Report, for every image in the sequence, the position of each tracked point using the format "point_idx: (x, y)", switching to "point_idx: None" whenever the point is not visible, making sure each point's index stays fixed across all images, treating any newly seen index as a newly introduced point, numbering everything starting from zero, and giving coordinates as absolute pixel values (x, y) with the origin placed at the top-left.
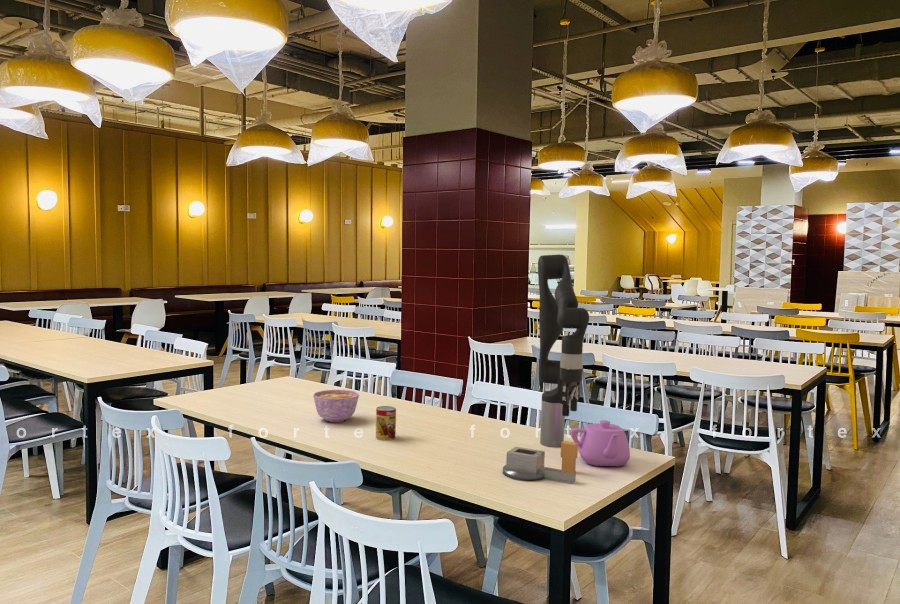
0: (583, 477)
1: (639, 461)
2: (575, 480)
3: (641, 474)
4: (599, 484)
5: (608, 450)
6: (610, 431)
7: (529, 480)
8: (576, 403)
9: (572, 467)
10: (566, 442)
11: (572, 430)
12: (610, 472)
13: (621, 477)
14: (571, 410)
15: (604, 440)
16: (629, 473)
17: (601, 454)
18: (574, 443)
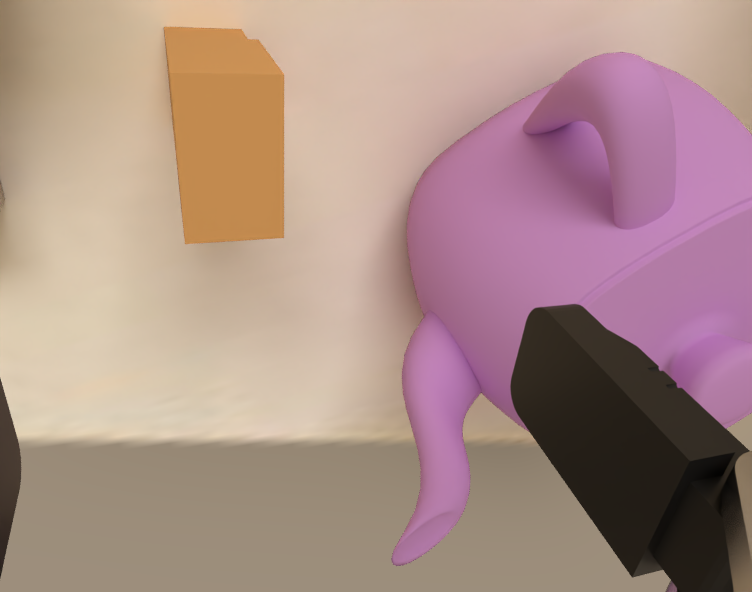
0: (143, 218)
1: None
2: (2, 203)
3: (395, 433)
4: (71, 342)
5: (403, 384)
6: None
7: None
8: (596, 526)
9: (174, 139)
10: (230, 126)
11: (609, 95)
12: (351, 315)
13: (292, 385)
14: (533, 326)
15: (500, 367)
16: (384, 391)
17: (429, 301)
18: (244, 215)
